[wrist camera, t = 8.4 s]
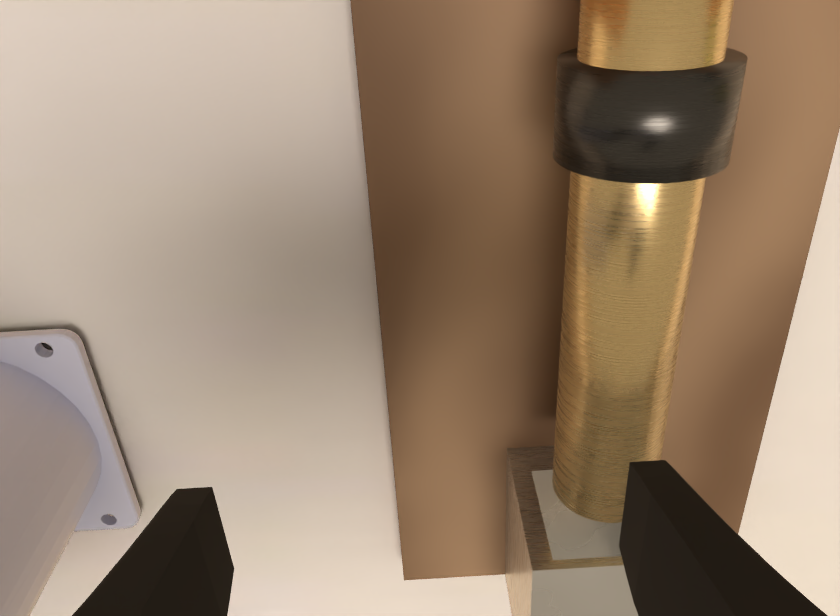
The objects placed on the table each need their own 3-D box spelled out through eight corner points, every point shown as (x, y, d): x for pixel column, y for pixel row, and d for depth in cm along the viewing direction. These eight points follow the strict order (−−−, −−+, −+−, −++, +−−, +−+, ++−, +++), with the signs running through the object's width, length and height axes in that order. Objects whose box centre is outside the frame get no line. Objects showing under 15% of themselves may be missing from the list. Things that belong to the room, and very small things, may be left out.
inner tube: (528, 445, 21) (551, 538, 18) (550, -204, 13) (599, -240, 10) (646, 438, 21) (690, 530, 18) (740, -215, 13) (848, -255, 10)
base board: (403, 558, 26) (404, 580, 25) (313, -446, 13) (307, -472, 12) (720, 539, 26) (731, 560, 25) (958, -483, 13) (999, -511, 12)
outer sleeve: (505, 573, 25) (526, 704, 21) (506, 448, 22) (532, 571, 18) (630, 566, 25) (676, 694, 21) (649, 439, 22) (707, 560, 18)
